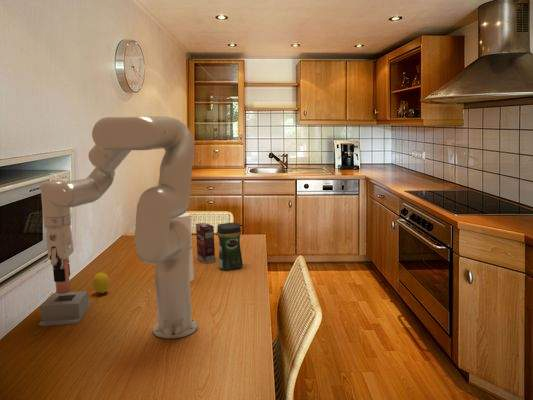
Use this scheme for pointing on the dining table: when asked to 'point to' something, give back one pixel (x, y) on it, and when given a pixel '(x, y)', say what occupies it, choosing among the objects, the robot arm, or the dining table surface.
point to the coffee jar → (229, 246)
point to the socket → (64, 308)
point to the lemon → (101, 282)
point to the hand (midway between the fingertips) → (62, 278)
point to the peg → (64, 286)
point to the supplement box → (205, 242)
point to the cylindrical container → (187, 221)
